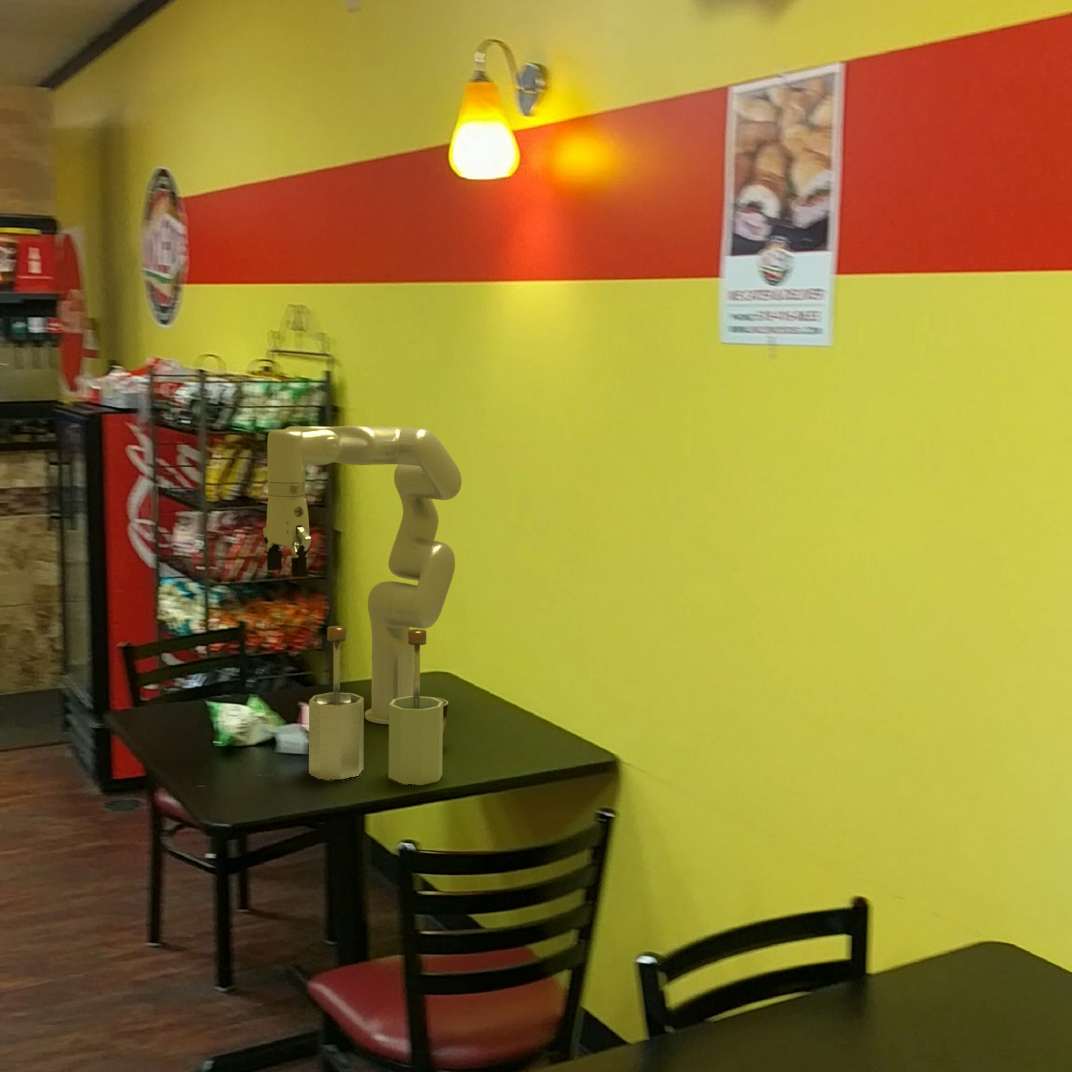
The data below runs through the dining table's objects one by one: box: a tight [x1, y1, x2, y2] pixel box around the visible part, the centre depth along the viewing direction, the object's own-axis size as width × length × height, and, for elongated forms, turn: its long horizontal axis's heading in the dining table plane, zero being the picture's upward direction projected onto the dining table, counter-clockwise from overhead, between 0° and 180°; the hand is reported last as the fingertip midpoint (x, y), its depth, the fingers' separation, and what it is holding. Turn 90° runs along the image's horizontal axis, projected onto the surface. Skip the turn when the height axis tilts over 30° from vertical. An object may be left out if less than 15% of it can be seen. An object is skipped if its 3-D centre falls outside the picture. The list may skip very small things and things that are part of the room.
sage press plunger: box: [406, 628, 427, 709], centre depth 258 cm, size 8×8×17 cm
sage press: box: [388, 696, 444, 786], centre depth 260 cm, size 10×10×15 cm
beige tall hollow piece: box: [308, 691, 365, 781], centre depth 262 cm, size 10×10×15 cm
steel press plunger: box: [327, 625, 347, 705], centre depth 260 cm, size 8×8×17 cm
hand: (286, 573), depth 271 cm, fingers open, 9 cm apart
